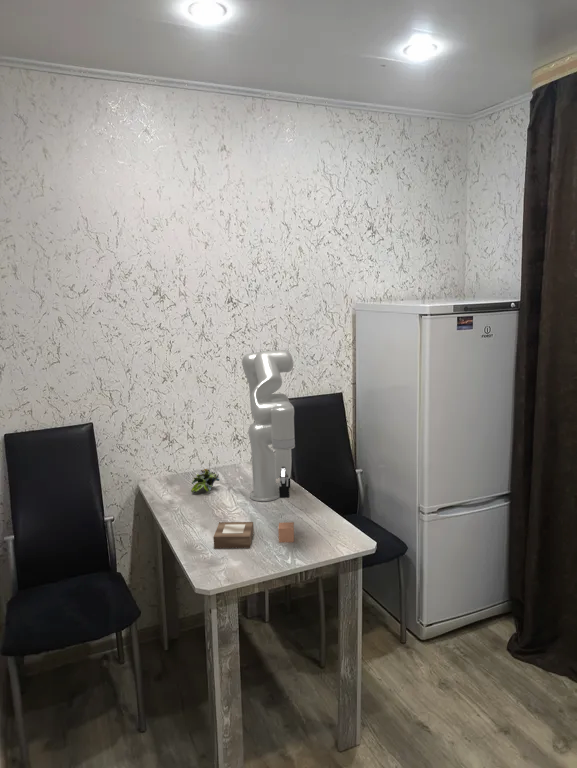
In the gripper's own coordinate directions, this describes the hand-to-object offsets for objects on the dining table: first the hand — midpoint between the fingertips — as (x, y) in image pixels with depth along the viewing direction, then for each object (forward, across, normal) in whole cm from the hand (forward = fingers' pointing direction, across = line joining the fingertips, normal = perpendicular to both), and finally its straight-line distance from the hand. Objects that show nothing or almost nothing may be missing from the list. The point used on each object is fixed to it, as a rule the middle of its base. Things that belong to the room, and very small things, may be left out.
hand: (285, 492), depth 188 cm
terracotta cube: (+17, -1, 0) cm, 17 cm away
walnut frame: (+17, 0, -18) cm, 24 cm away
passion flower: (+16, -48, -36) cm, 63 cm away
